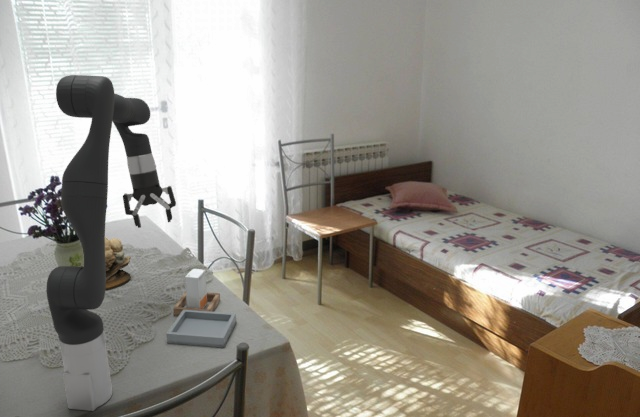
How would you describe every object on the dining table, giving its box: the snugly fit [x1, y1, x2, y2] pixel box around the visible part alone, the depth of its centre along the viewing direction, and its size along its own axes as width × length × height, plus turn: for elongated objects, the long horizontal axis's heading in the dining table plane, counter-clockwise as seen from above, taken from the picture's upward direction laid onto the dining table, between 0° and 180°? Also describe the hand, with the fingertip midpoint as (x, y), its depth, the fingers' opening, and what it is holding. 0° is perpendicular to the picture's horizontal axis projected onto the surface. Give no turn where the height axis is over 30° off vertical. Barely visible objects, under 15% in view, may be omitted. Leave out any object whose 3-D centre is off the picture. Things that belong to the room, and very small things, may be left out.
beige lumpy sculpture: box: [83, 237, 132, 292], centre depth 174 cm, size 18×12×17 cm, turn 129°
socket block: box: [172, 291, 221, 317], centre depth 161 cm, size 11×11×2 cm
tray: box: [166, 310, 237, 348], centre depth 148 cm, size 13×16×3 cm
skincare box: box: [184, 268, 208, 309], centre depth 160 cm, size 6×4×12 cm
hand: (154, 224), depth 154 cm, fingers open, 8 cm apart
